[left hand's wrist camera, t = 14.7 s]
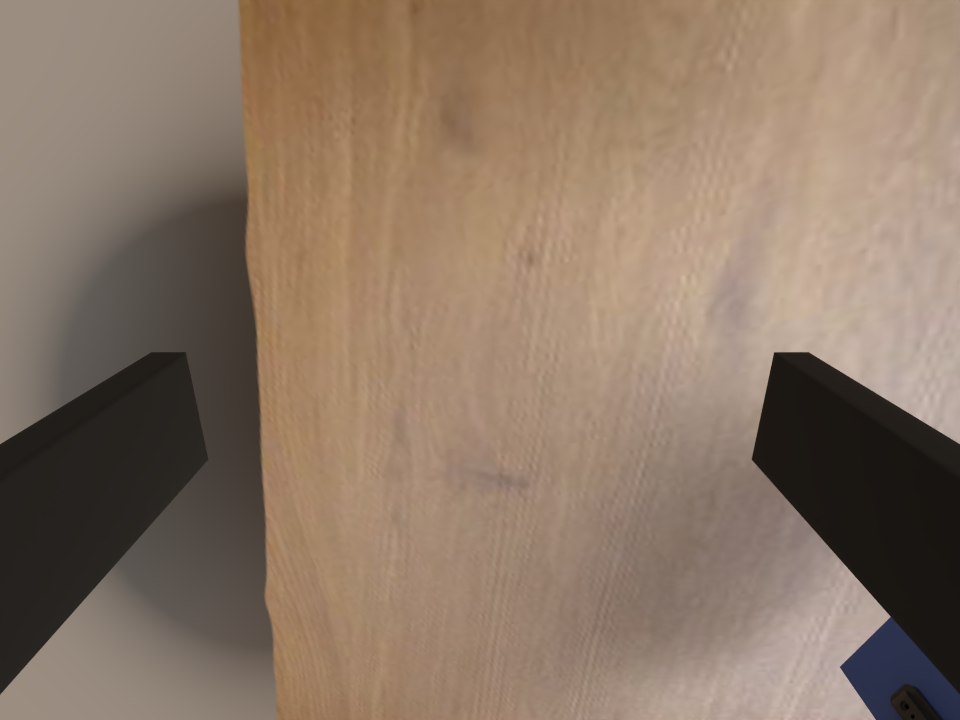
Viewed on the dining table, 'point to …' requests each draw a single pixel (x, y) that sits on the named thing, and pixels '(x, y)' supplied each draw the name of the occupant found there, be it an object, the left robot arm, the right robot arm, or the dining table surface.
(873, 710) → the bar
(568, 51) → the dining table surface
